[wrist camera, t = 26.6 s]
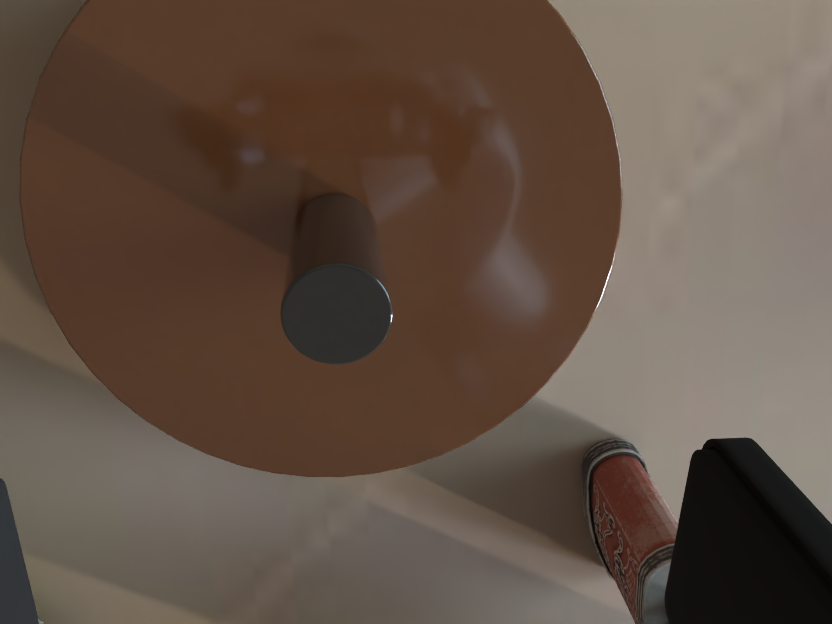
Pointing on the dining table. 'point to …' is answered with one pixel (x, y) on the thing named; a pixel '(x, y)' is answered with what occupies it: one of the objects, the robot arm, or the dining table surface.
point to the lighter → (629, 526)
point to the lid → (321, 218)
